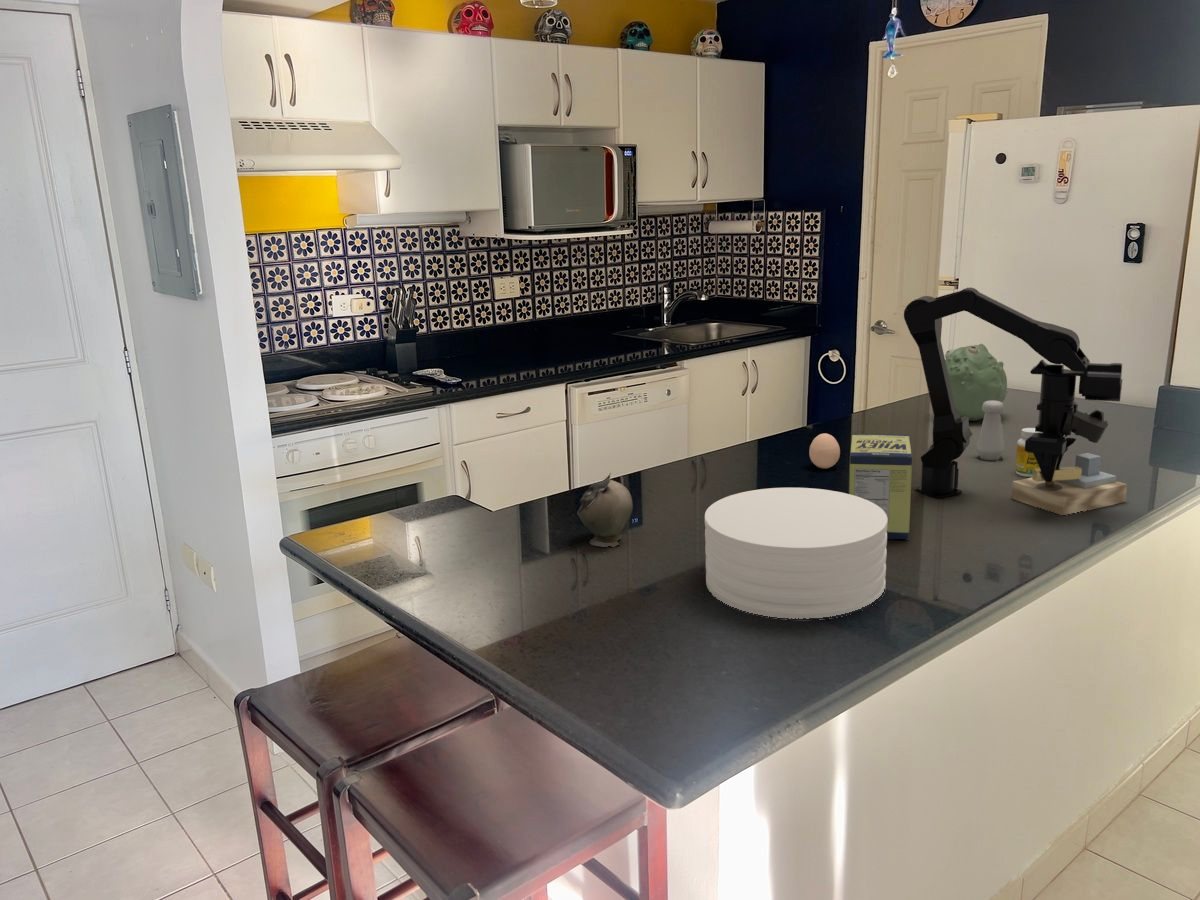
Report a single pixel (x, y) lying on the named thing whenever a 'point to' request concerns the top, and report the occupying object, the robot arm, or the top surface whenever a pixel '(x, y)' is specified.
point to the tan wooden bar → (1058, 475)
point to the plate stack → (795, 552)
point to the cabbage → (975, 379)
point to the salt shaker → (991, 432)
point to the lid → (1090, 472)
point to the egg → (824, 451)
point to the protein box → (884, 477)
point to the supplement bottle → (1025, 455)
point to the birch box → (1067, 495)
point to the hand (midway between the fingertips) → (1050, 478)
